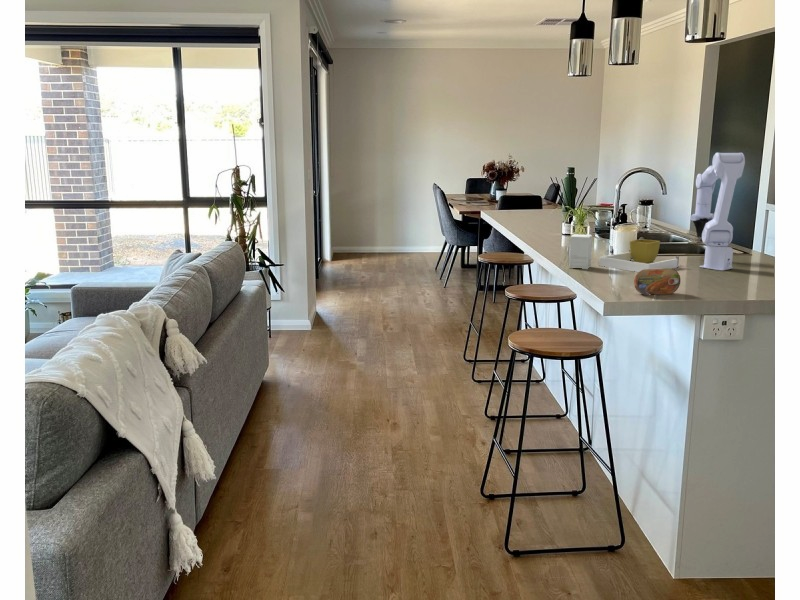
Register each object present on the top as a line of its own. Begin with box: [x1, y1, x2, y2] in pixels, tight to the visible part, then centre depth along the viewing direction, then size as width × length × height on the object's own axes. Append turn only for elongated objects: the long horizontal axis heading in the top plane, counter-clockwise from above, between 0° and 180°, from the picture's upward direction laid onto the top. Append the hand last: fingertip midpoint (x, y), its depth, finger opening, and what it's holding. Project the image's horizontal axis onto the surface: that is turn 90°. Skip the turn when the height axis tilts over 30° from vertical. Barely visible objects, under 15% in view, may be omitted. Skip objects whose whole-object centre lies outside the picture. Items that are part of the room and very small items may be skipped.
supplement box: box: [568, 233, 593, 270], centre depth 269 cm, size 7×7×13 cm
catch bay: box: [598, 249, 680, 273], centre depth 272 cm, size 22×21×4 cm
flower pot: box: [629, 238, 661, 264], centre depth 279 cm, size 9×9×9 cm
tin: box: [633, 268, 681, 296], centre depth 223 cm, size 15×3×8 cm, turn 100°
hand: (700, 237), depth 286 cm, fingers closed
